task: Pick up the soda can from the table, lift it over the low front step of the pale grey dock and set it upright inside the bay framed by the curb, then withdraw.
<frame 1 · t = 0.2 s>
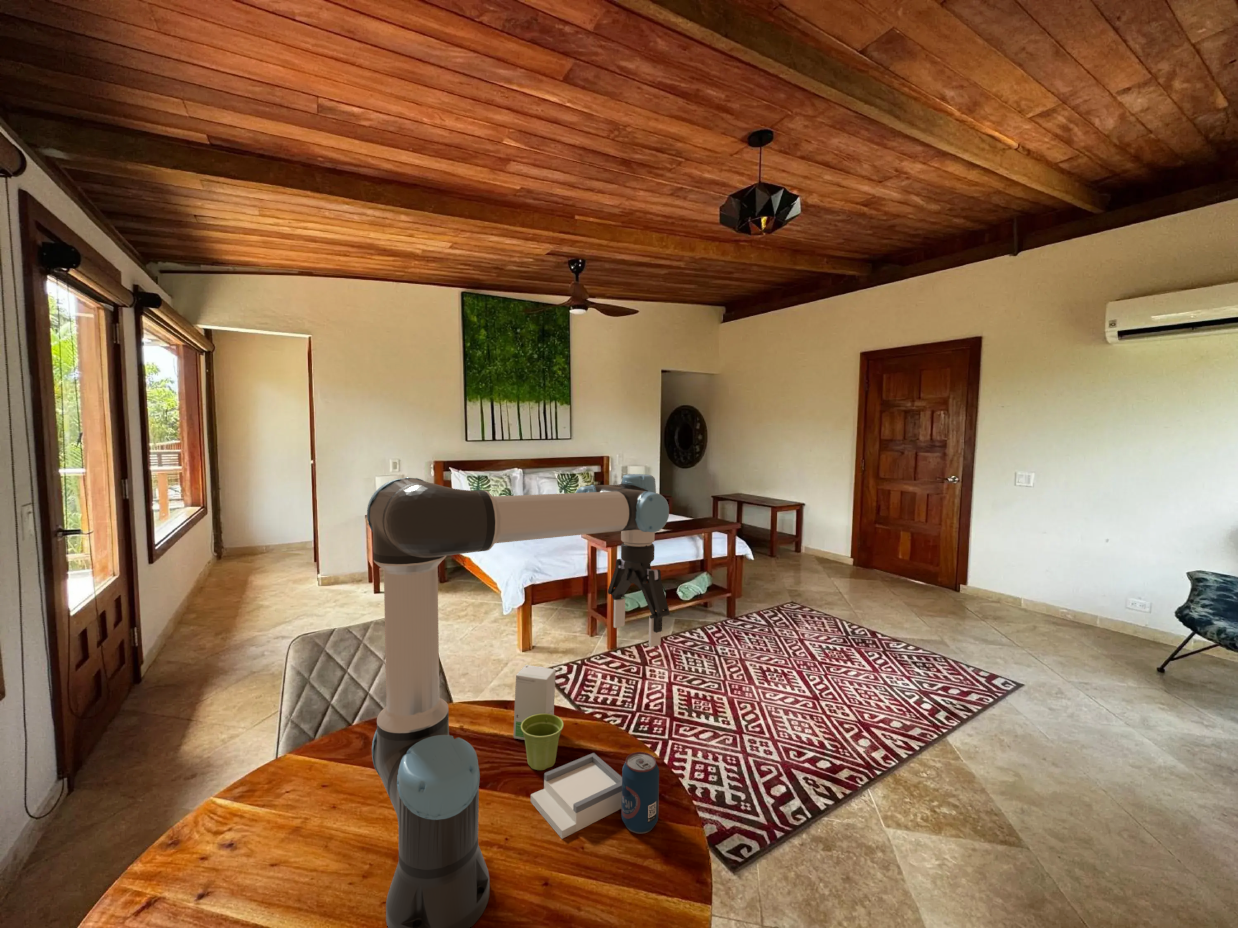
hand: (636, 635, 120), 27 cm above the table, tool pointing down, fingers open, 13 cm apart
skincare box: (534, 734, 129), on the table
soda can: (639, 823, 100), on the table
plant pot: (541, 763, 118), on the table
dock: (585, 800, 105), on the table
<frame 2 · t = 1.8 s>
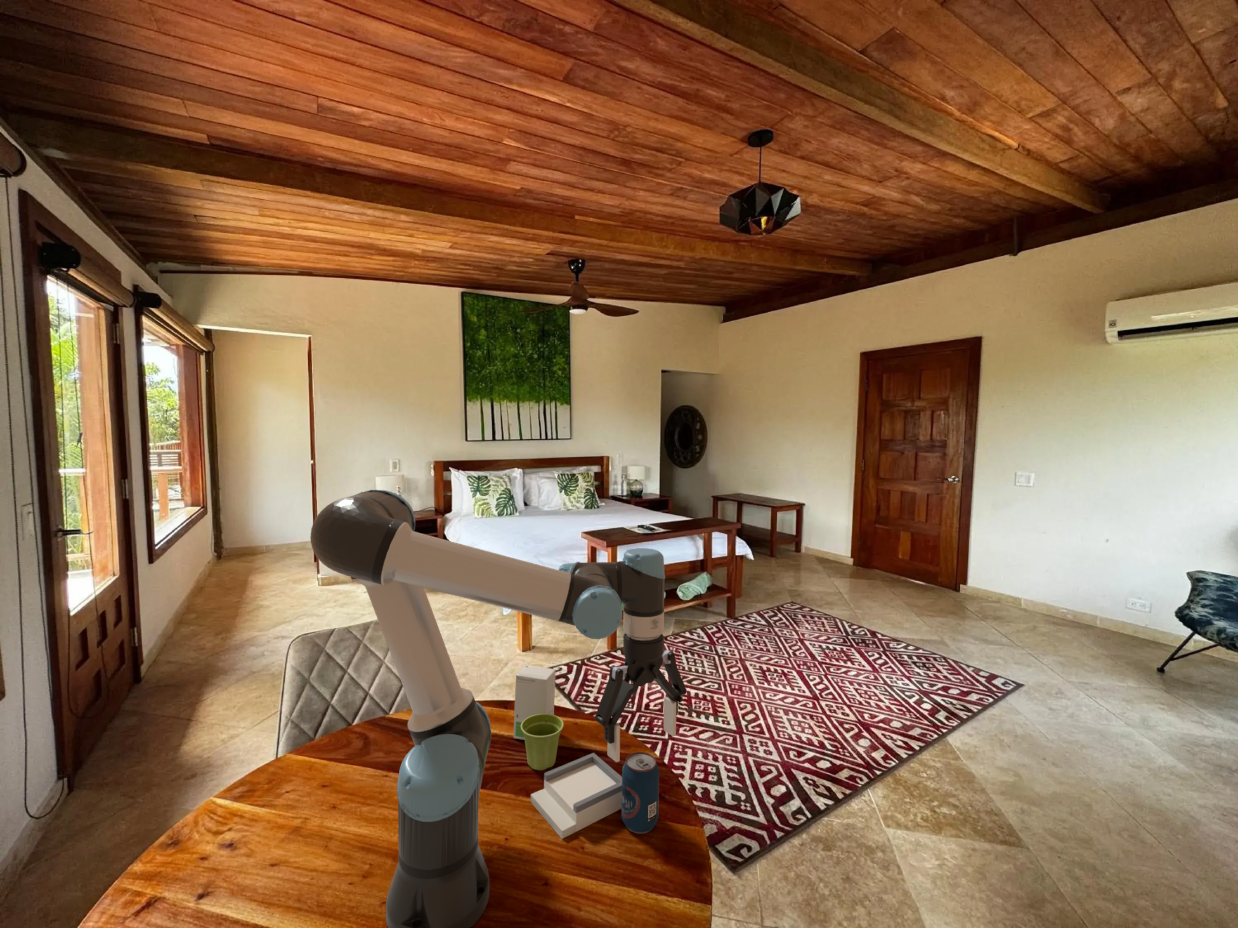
hand: (642, 744, 99), 15 cm above the table, tool pointing down, fingers open, 13 cm apart
nothing on the table moved.
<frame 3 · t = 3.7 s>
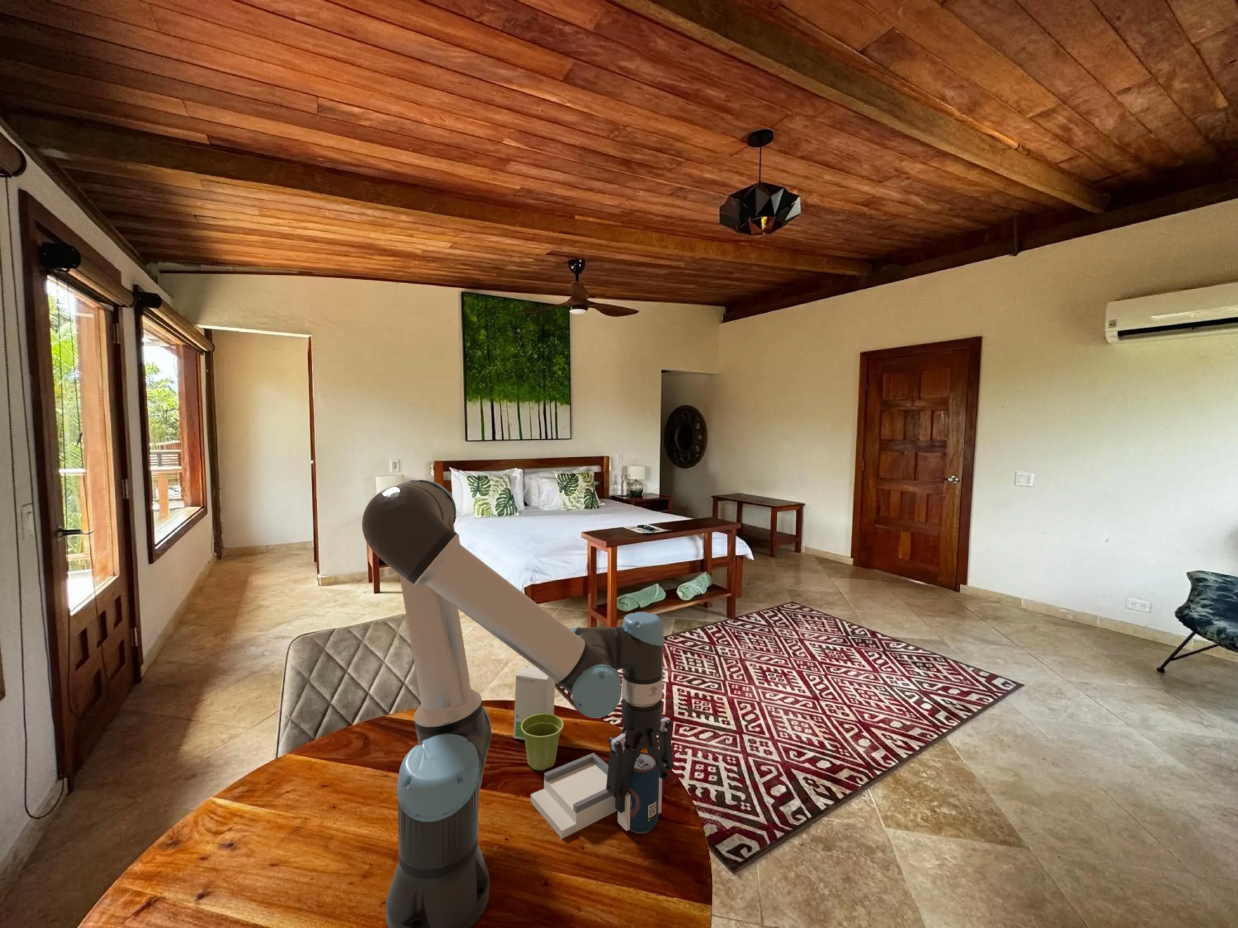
hand: (639, 816, 100), 1 cm above the table, tool pointing down, fingers closed on soda can, 7 cm apart
soda can: (639, 823, 100), on the table, touching gripper
everything else where it was.
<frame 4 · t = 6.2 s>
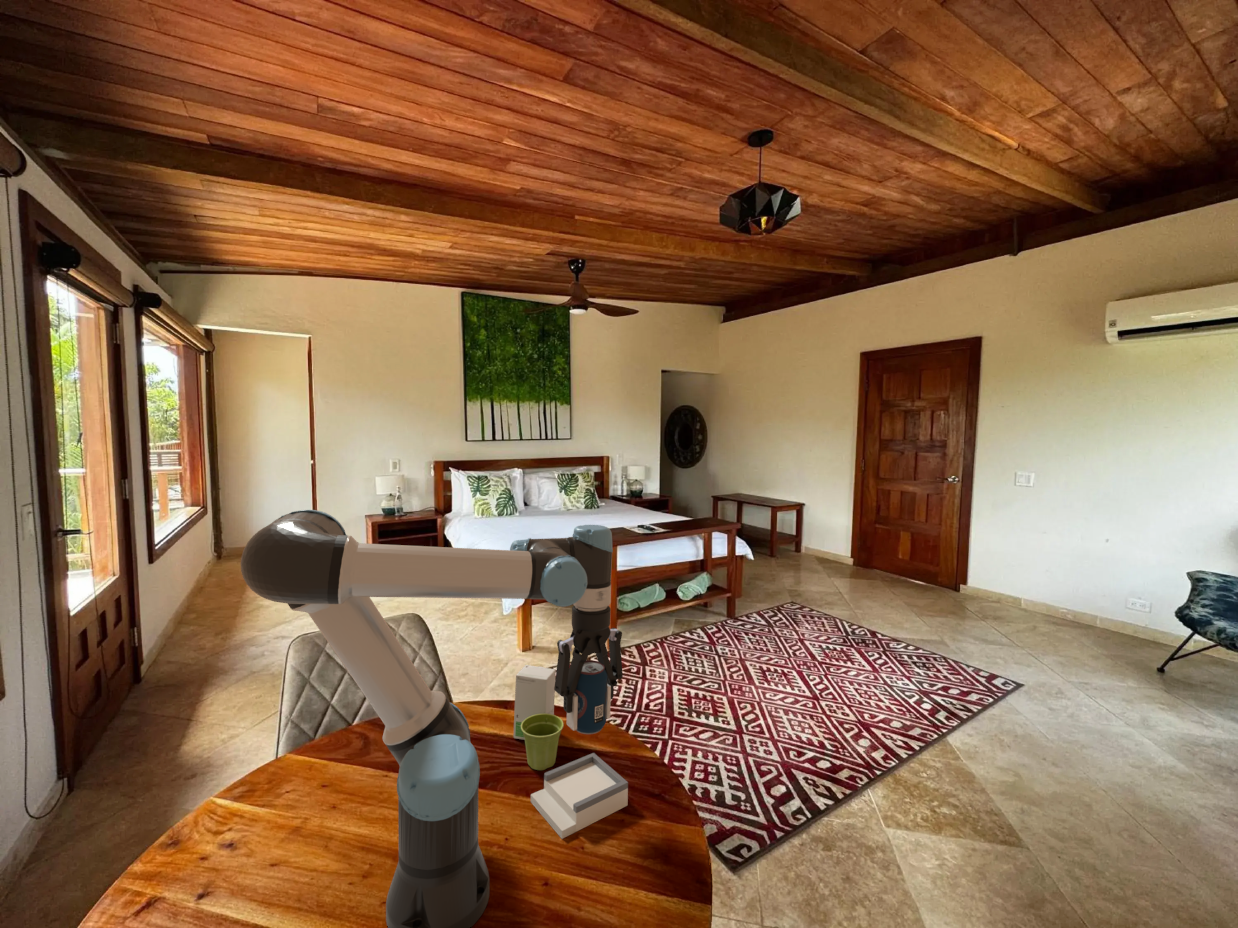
hand: (588, 720, 104), 17 cm above the table, tool pointing down, fingers closed on soda can, 7 cm apart
soda can: (588, 727, 104), point 16 cm above the table, touching gripper
everything else where it was.
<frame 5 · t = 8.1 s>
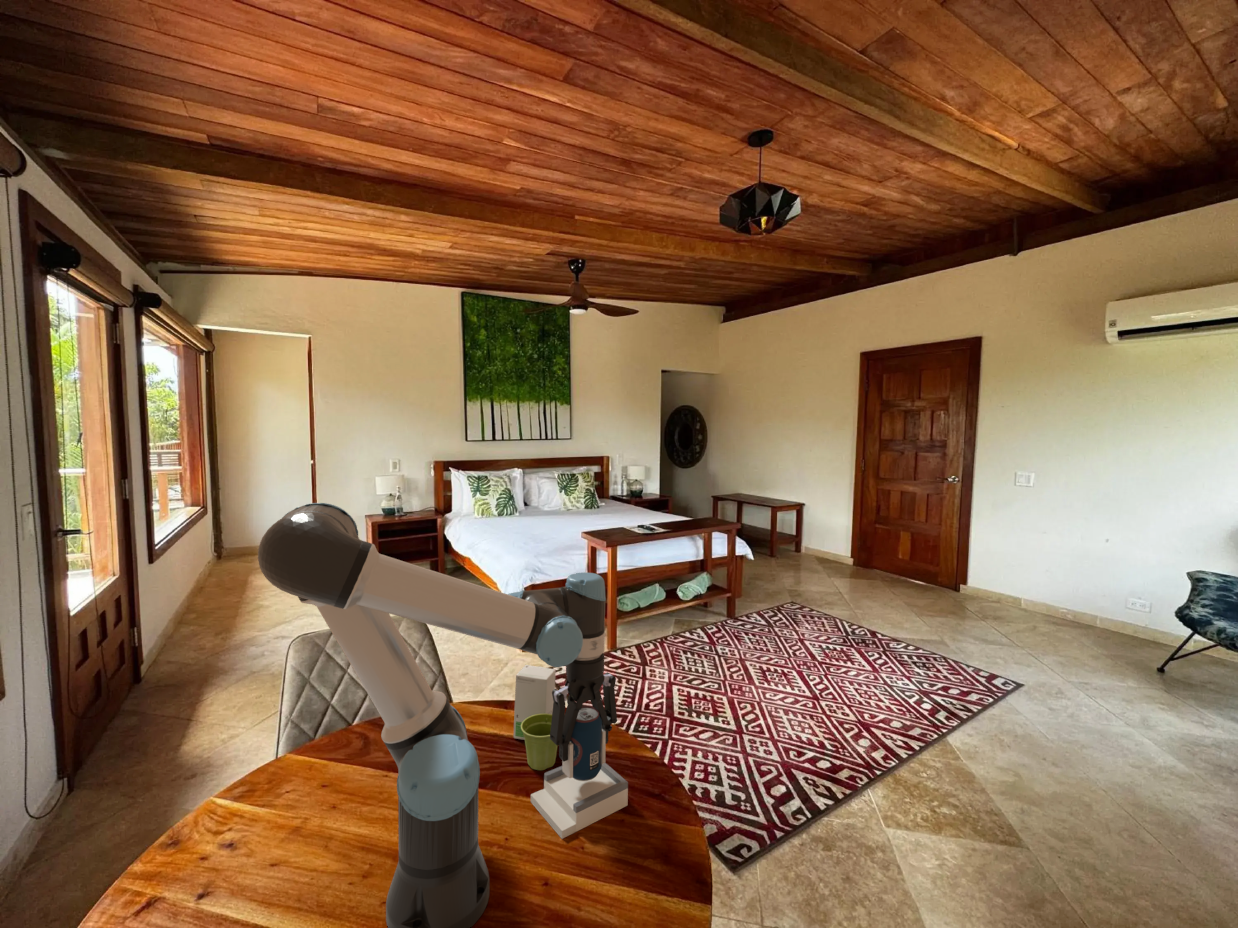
hand: (584, 766, 105), 7 cm above the table, tool pointing down, fingers closed on soda can, 7 cm apart
soda can: (584, 772, 105), point 6 cm above the table, touching gripper
everything else where it was.
when the fingers open (6 cm above the table, at t = 9.1 s): soda can drops 1 cm, resting on dock.
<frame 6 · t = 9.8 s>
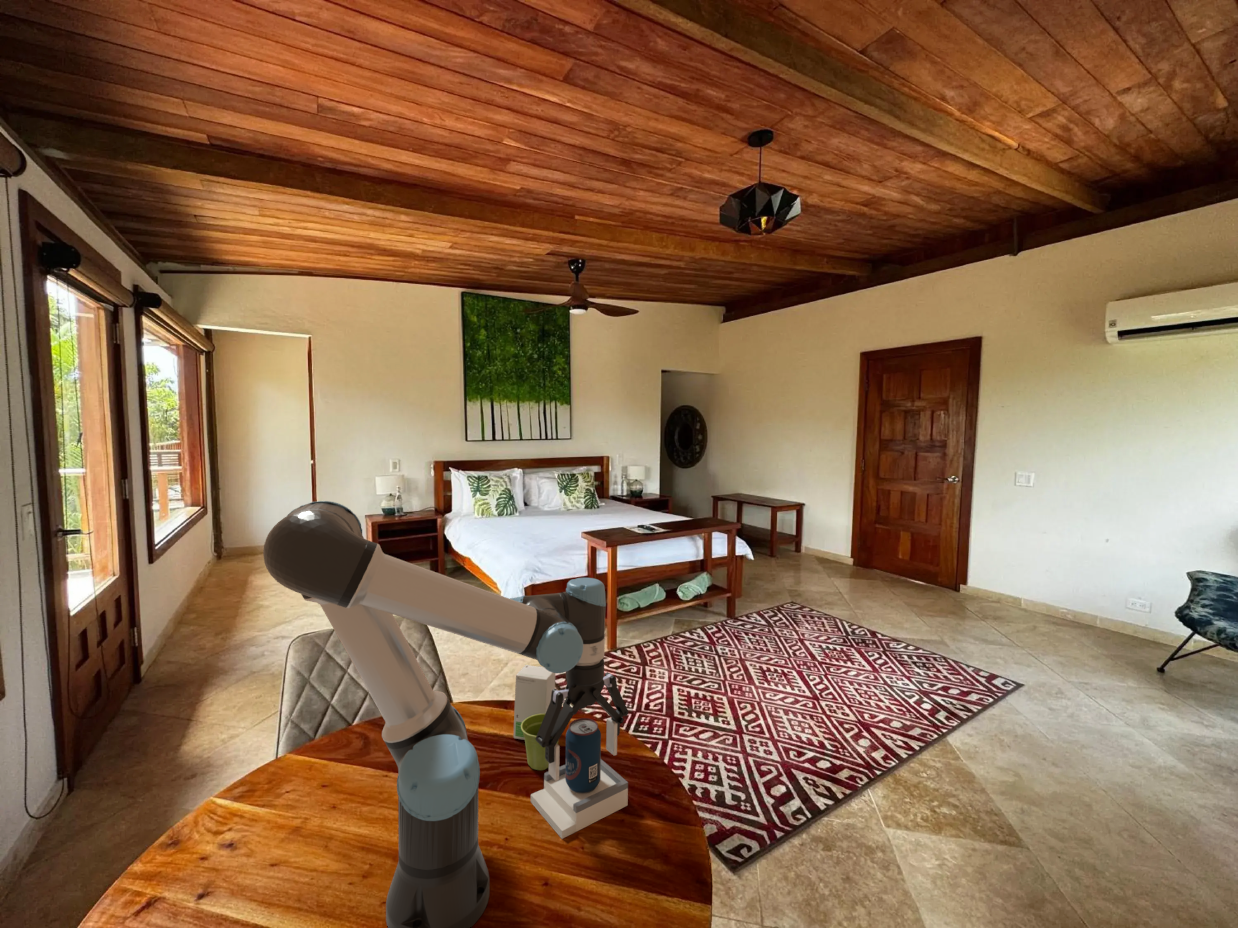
hand: (583, 763, 105), 8 cm above the table, tool pointing down, fingers open, 13 cm apart
soda can: (582, 785, 105), point 3 cm above the table, touching dock
everything else where it was.
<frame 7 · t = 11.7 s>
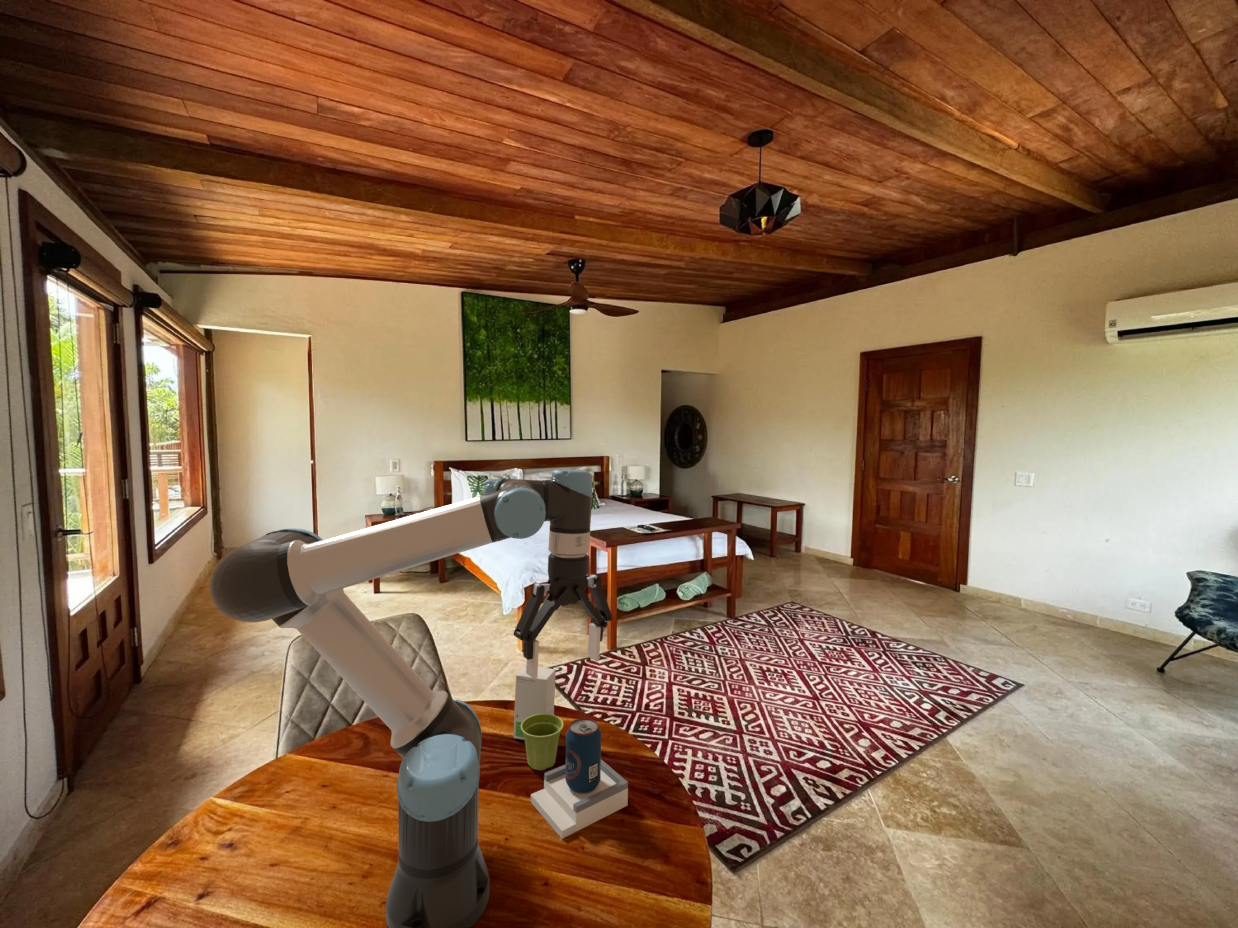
hand: (563, 666, 98), 30 cm above the table, tool pointing down, fingers open, 13 cm apart
nothing on the table moved.
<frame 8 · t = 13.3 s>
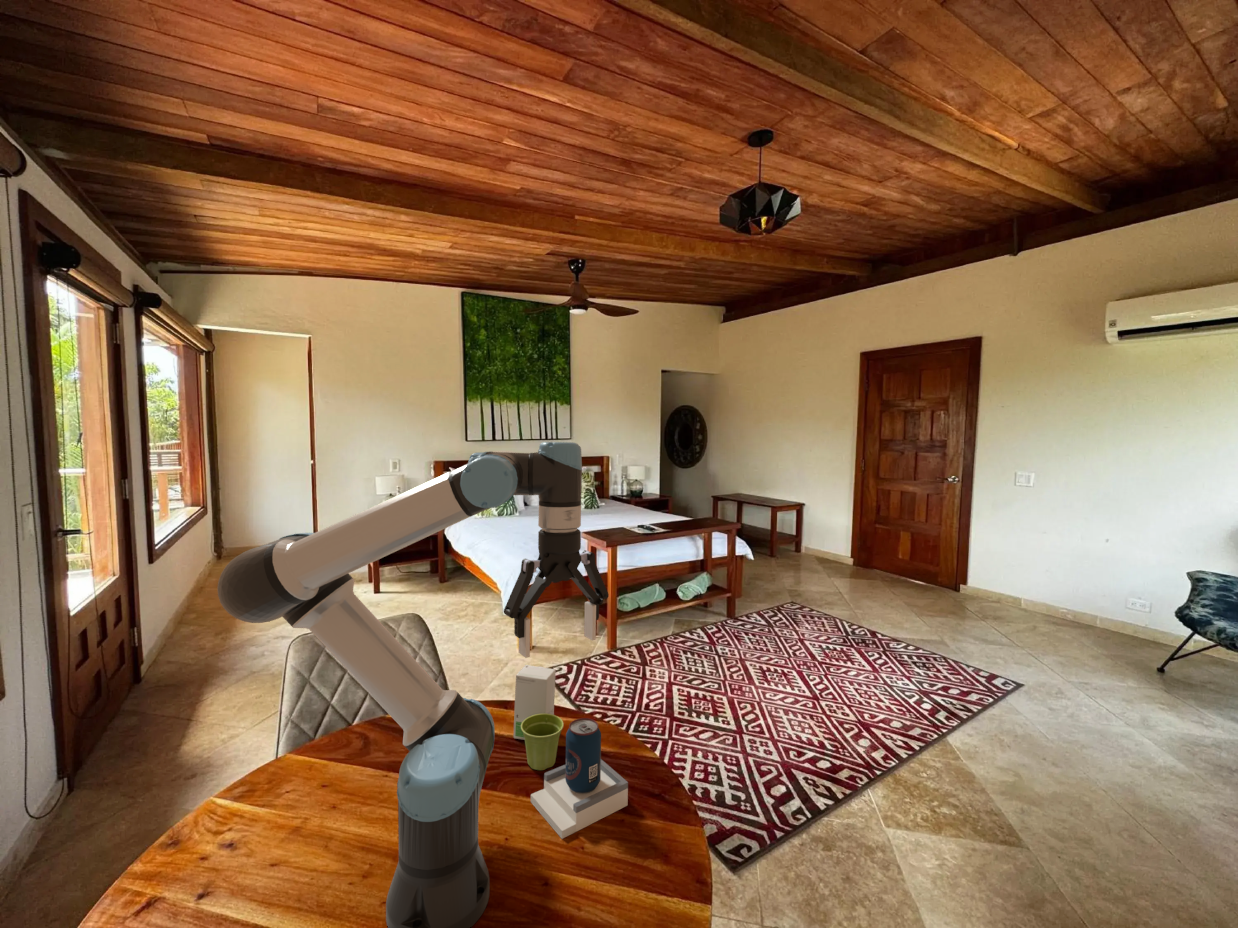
hand: (558, 646, 95), 35 cm above the table, tool pointing down, fingers open, 13 cm apart
nothing on the table moved.
at the end: soda can inside the target area on the dock (0.2 cm from its centre), point 3.3 cm above the dock's base; soda can tilted 0°; the gripper is holding nothing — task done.
